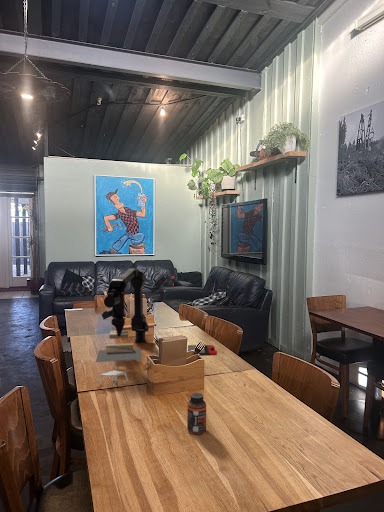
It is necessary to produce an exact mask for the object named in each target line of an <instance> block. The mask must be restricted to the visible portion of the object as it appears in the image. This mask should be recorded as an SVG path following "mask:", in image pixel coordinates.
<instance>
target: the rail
mask: <svg viewBox="0 0 384 512" xmlns="http://www.w3.org/2000/svg"><path fill="white" fill-rule="evenodd" d="M133 349H134V343H133V342H131V343H107V344H105V350H106V353H111V352H132V351H133Z"/></svg>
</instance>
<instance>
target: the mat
mask: <svg viewBox="0 0 384 512" xmlns="http://www.w3.org/2000/svg"><path fill="white" fill-rule="evenodd" d="M141 360H142V348H133V351H132V352H111V353H106V349H105V350H104V349H102V350H98V352H97V357H96V359H95V363H105V362H123V361H126V362H127V361H141Z"/></svg>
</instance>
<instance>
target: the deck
mask: <svg viewBox="0 0 384 512" xmlns="http://www.w3.org/2000/svg"><path fill="white" fill-rule="evenodd" d="M128 338H129V330H128V329H126V330H125V329H123V330H122V332H121V335H120V336H118V335H117V331H116V330H110V331H109V339H110V340H114V339H115V340H116V339H117V340H119V339H128Z"/></svg>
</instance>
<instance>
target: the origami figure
mask: <svg viewBox="0 0 384 512" xmlns="http://www.w3.org/2000/svg"><path fill="white" fill-rule="evenodd" d="M123 375H124V377H125V379H126V380H124V381H123V384H124V385H126V383H127V382H128V381H129V378H128V375H127V372H126V371H119V370H116V369H114V370H111V371H107V372H104V373H100V374H99V376H98V377H97V378H96V379H95V380H96V381H97V383H99V384H100V386H102V385H103V383H102V382H101V381H100V380H99V379H101V378H102V377H105V378H106V377H107V378H108V377H110V378H111V377H112V382H114V387H115V388H117V383H118V377H119V376H123Z"/></svg>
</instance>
